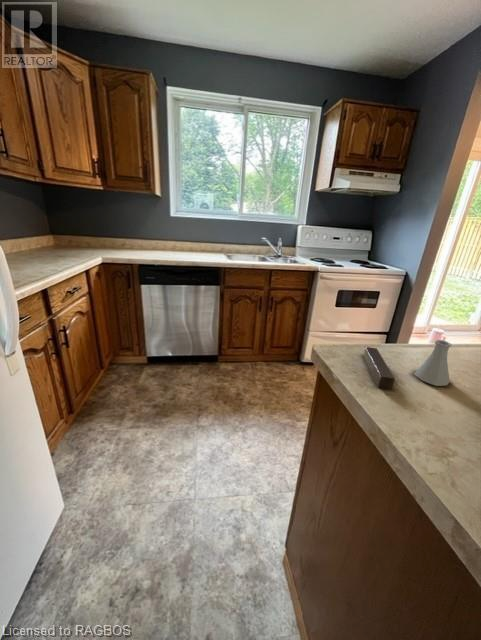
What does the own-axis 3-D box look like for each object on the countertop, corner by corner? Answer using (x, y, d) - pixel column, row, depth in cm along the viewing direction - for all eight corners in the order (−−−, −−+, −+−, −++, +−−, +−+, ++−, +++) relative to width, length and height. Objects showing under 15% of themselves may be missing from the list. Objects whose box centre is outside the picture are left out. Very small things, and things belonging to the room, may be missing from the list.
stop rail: (374, 357, 77) (376, 348, 76) (391, 389, 63) (395, 378, 61) (363, 356, 78) (365, 346, 77) (377, 387, 63) (380, 376, 62)
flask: (408, 373, 70) (418, 338, 66) (426, 369, 72) (437, 334, 69) (436, 389, 63) (450, 351, 60) (455, 383, 66) (469, 346, 63)
